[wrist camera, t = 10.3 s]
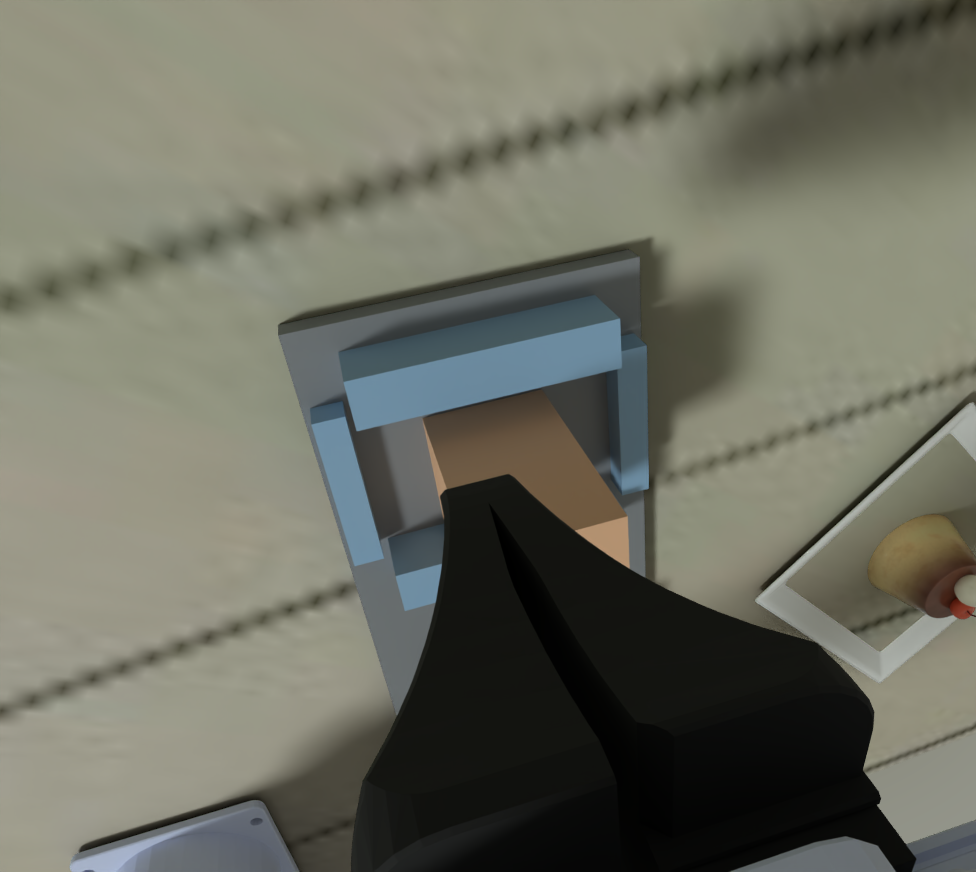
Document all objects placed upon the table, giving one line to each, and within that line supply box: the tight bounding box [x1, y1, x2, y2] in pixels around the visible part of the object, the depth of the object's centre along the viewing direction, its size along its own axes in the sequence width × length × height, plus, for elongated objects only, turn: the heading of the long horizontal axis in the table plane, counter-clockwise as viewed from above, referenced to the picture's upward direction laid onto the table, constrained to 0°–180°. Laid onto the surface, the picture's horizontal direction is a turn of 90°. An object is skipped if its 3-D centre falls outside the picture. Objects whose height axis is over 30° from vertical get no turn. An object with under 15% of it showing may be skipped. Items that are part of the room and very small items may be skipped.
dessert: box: [755, 402, 976, 683], centre depth 33 cm, size 12×12×5 cm
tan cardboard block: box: [422, 389, 630, 569], centre depth 22 cm, size 4×4×7 cm
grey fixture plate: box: [278, 249, 649, 716], centre depth 28 cm, size 25×11×3 cm, turn 8°
